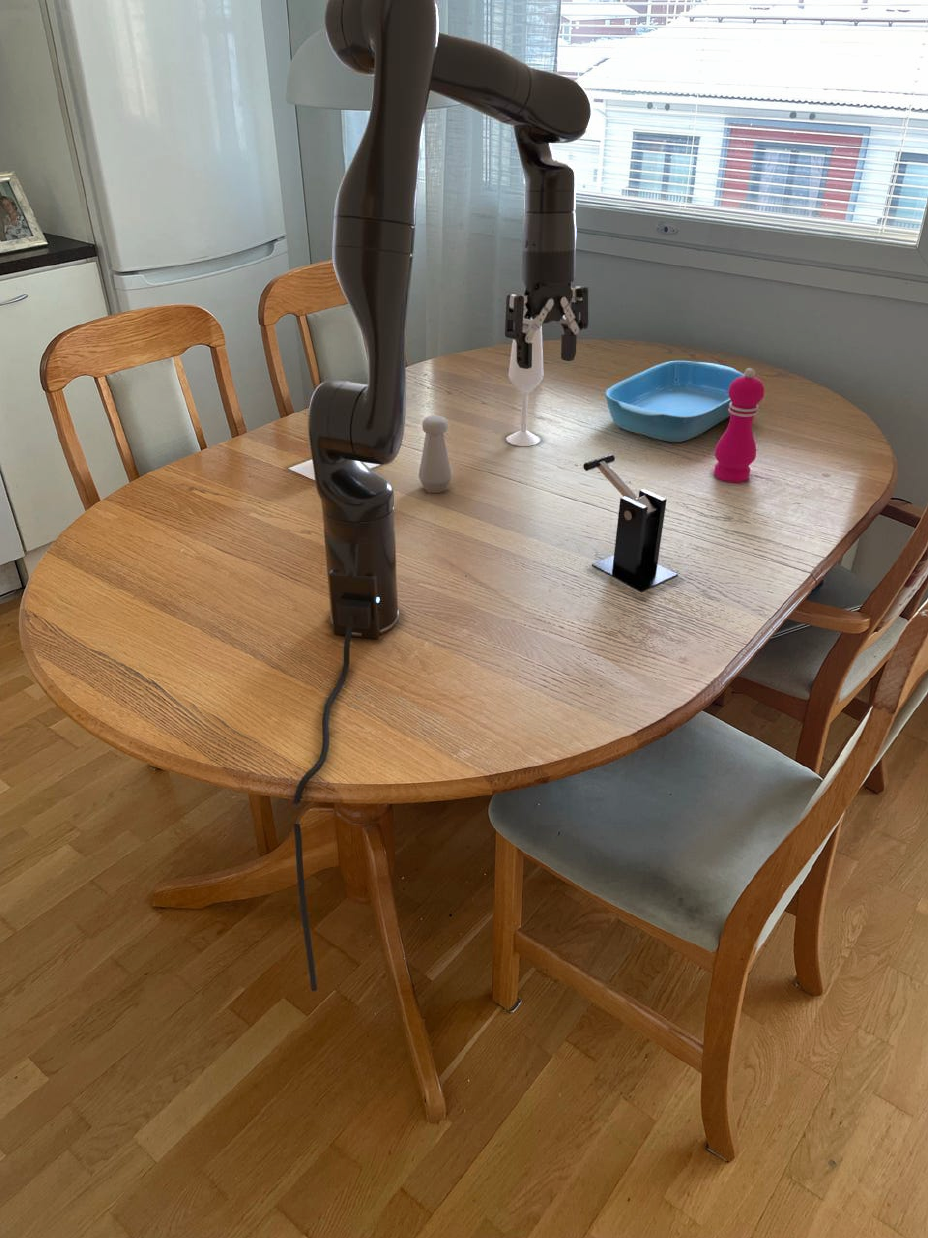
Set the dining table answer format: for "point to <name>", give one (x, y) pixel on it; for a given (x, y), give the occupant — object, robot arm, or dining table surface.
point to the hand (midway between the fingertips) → (546, 363)
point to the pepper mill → (739, 429)
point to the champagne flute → (526, 386)
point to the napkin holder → (308, 468)
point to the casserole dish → (673, 400)
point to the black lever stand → (638, 545)
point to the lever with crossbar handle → (618, 481)
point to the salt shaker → (435, 456)
